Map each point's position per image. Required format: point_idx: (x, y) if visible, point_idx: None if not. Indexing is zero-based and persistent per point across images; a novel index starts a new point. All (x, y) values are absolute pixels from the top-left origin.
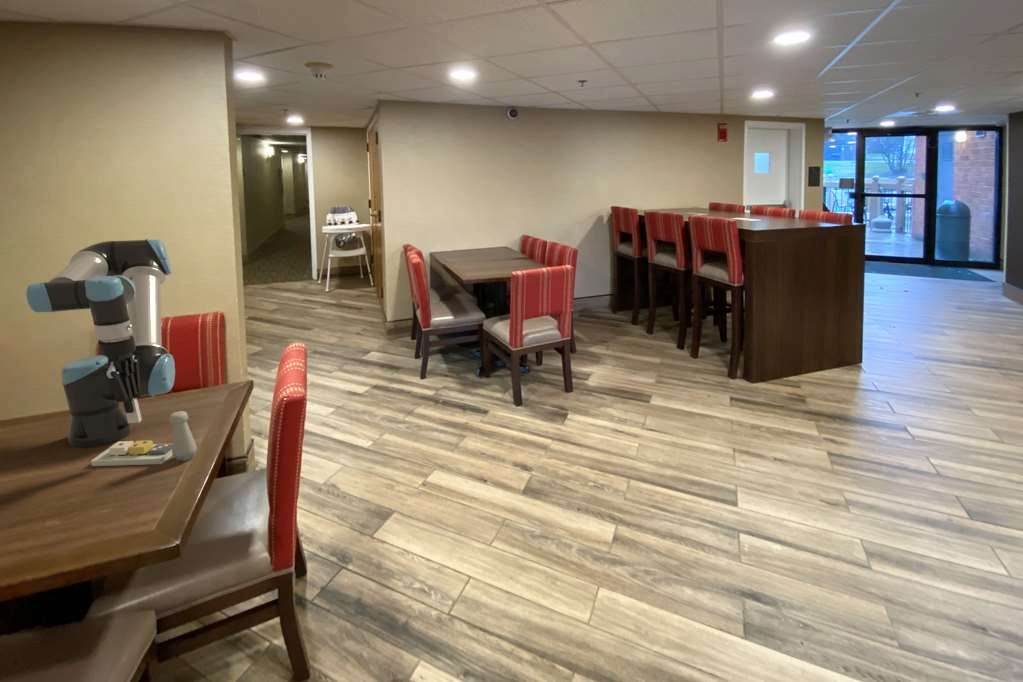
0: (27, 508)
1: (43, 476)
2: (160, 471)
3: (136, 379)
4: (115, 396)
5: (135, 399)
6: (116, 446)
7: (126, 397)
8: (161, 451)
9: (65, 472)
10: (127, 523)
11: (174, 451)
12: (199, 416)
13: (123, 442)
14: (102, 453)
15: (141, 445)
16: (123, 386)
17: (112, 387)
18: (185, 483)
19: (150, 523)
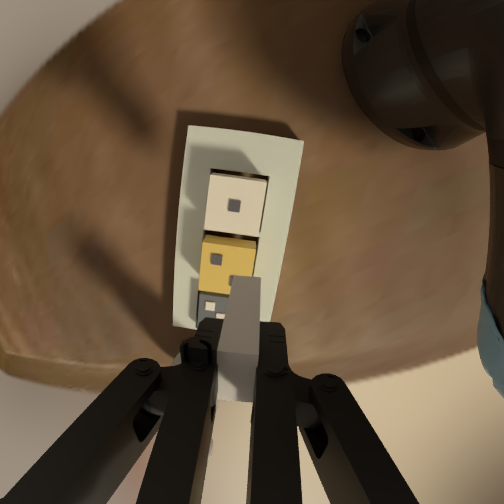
0: (22, 116)
1: (158, 32)
2: (138, 324)
3: (326, 488)
4: (105, 394)
5: (236, 398)
6: (219, 196)
7: (142, 422)
8: (197, 325)
9: (167, 73)
10: (3, 320)
11: (174, 364)
12: (456, 298)
13: (252, 206)
14: (240, 135)
15: (212, 279)
16: (111, 487)
17: (55, 454)
18: (97, 374)
19: (11, 346)
